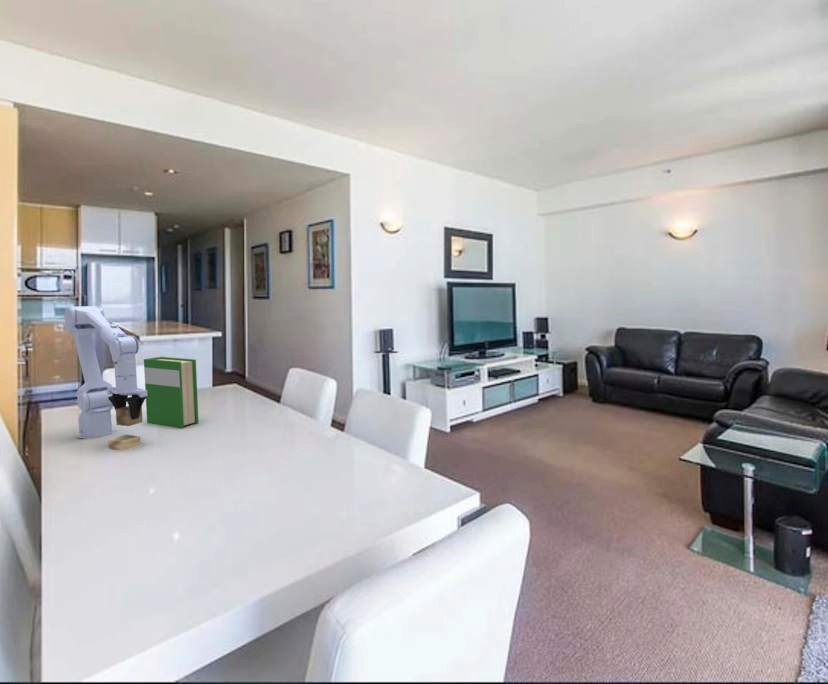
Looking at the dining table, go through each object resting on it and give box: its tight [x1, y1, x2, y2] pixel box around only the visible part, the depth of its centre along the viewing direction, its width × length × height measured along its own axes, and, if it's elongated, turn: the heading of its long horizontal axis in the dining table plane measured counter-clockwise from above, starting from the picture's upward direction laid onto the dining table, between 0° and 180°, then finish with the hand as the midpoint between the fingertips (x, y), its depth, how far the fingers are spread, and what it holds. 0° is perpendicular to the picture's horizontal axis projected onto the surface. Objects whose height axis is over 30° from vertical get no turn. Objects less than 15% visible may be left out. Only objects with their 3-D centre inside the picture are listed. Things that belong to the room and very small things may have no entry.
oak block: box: [107, 434, 142, 452], centre depth 147 cm, size 6×6×3 cm
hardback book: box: [143, 356, 199, 429], centre depth 176 cm, size 18×7×24 cm, turn 67°
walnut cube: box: [115, 405, 143, 427], centre depth 150 cm, size 5×5×5 cm
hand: (128, 417), depth 150 cm, fingers closed on walnut cube, 5 cm apart
